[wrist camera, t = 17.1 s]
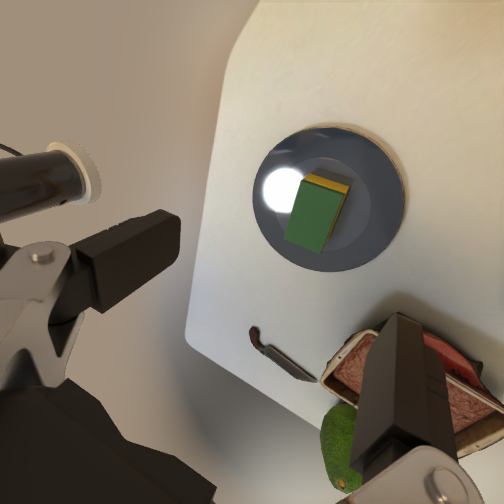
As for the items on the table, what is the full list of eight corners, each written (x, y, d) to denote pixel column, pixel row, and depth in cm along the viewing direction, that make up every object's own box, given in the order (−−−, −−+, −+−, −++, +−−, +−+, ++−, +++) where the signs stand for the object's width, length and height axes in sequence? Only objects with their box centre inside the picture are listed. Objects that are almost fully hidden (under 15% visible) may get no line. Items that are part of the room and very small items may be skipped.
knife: (244, 336, 49) (242, 339, 49) (253, 324, 47) (251, 327, 46) (308, 386, 48) (307, 390, 47) (321, 377, 45) (320, 380, 45)
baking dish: (391, 279, 35) (368, 326, 28) (532, 385, 30) (547, 472, 23) (331, 333, 44) (303, 378, 37) (431, 420, 40) (421, 490, 33)
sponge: (292, 227, 34) (282, 239, 31) (309, 173, 30) (300, 180, 28) (327, 241, 33) (320, 254, 30) (349, 186, 29) (343, 195, 26)
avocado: (390, 418, 43) (385, 508, 33) (354, 430, 48) (342, 512, 38) (349, 383, 43) (333, 462, 34) (318, 399, 48) (297, 472, 39)
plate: (246, 237, 40) (241, 241, 39) (273, 107, 30) (268, 107, 29) (363, 288, 35) (362, 293, 34) (438, 153, 26) (440, 155, 25)
